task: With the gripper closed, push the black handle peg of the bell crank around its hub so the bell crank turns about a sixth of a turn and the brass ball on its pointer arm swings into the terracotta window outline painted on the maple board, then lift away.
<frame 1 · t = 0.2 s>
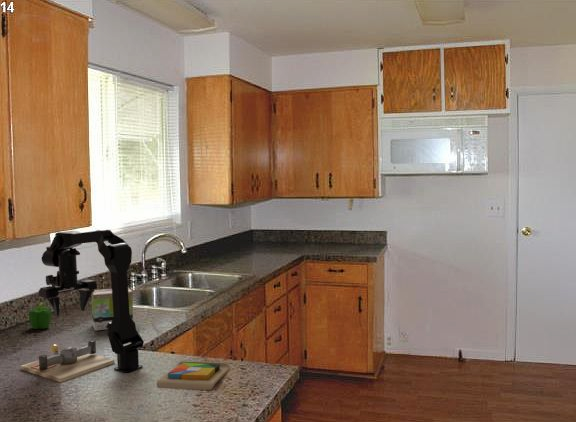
hand: (70, 313, 199), 14 cm above the worktop, tool pointing down, fingers open, 9 cm apart
tea box: (112, 326, 236), on the worktop
bell pepper: (41, 328, 235), on the worktop
level window: (44, 370, 185), resting on board
wooden puzzle: (194, 379, 178), on the worktop
bell crank: (62, 353, 190), point 4 cm above the worktop, hinge at 0.0°
board: (68, 366, 189), on the worktop
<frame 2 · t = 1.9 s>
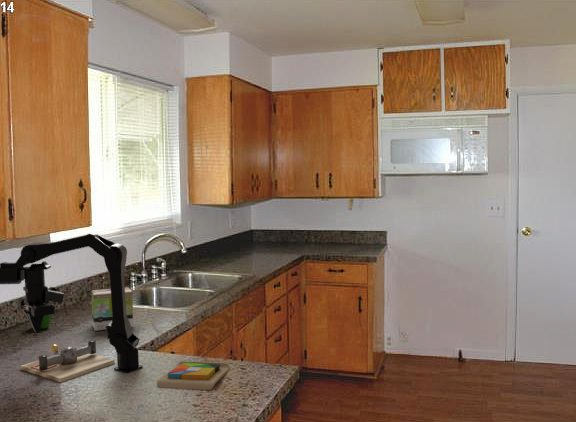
hand: (37, 332, 183), 12 cm above the worktop, tool pointing down, fingers closed
nothing on the worktop moved.
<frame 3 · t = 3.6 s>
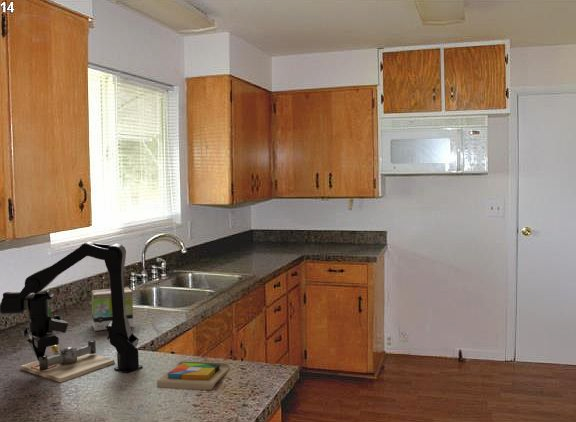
hand: (40, 361, 183), 3 cm above the worktop, tool pointing down, fingers closed
bell crank: (62, 353, 190), point 4 cm above the worktop, hinge at 0.8°, touching gripper
everything else where it was.
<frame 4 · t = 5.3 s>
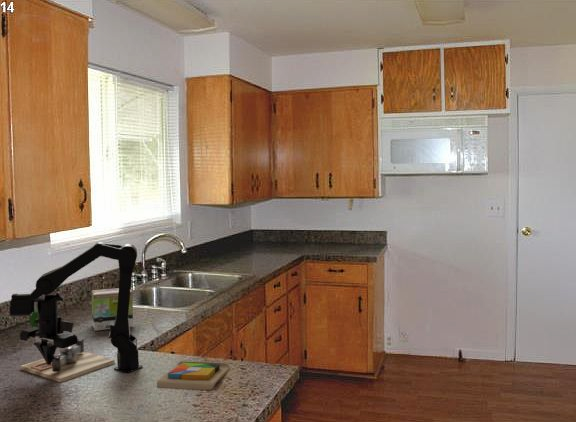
hand: (49, 364, 180), 4 cm above the worktop, tool pointing down, fingers closed
bell crank: (58, 354, 188), point 4 cm above the worktop, hinge at 31.8°, touching gripper
everything else where it was.
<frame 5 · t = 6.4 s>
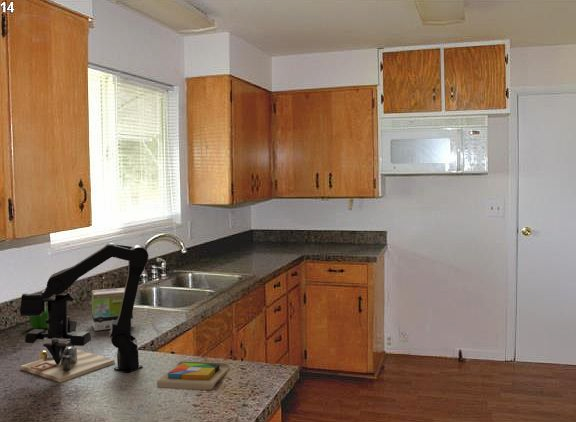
hand: (58, 364, 179), 4 cm above the worktop, tool pointing down, fingers closed
bell crank: (58, 355, 187), point 4 cm above the worktop, hinge at 51.7°, touching gripper
everything else where it was.
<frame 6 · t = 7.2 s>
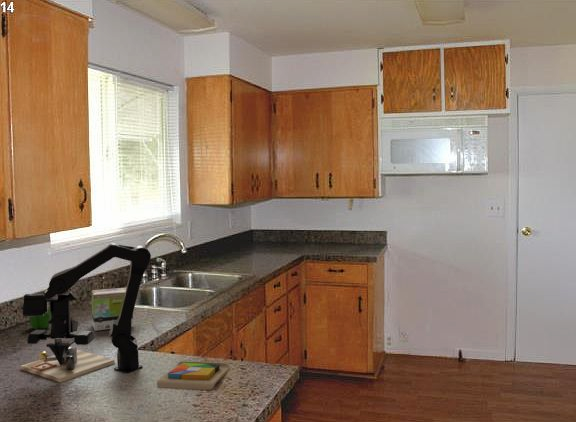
hand: (61, 364, 180), 4 cm above the worktop, tool pointing down, fingers closed
bell crank: (58, 356, 187), point 4 cm above the worktop, hinge at 58.4°, touching gripper
everything else where it was.
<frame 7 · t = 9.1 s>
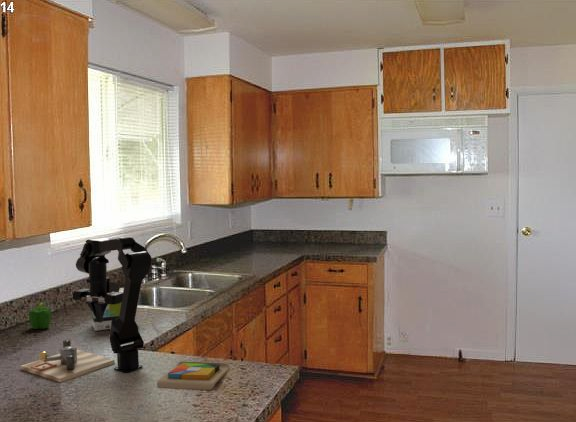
hand: (99, 321, 197), 12 cm above the worktop, tool pointing down, fingers closed
bell crank: (58, 356, 187), point 4 cm above the worktop, hinge at 58.6°
everything else where it was.
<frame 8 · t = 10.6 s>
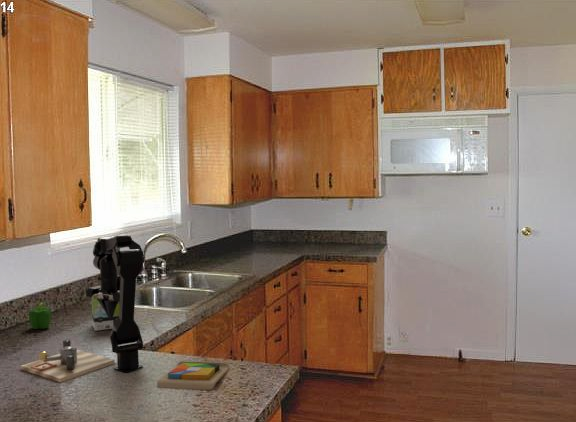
hand: (110, 318, 201), 12 cm above the worktop, tool pointing down, fingers closed
nothing on the worktop moved.
at the end: bell crank at +59° (first picture: +0°) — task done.
